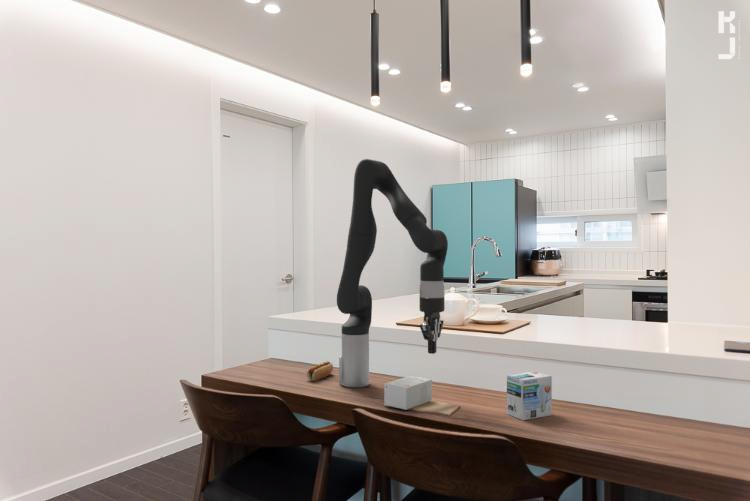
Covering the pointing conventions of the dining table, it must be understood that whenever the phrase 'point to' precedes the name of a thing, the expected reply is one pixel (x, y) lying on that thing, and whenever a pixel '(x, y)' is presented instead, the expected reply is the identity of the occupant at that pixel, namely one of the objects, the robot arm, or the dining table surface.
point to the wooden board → (435, 408)
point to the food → (319, 371)
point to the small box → (407, 392)
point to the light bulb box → (529, 395)
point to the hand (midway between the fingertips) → (432, 353)
